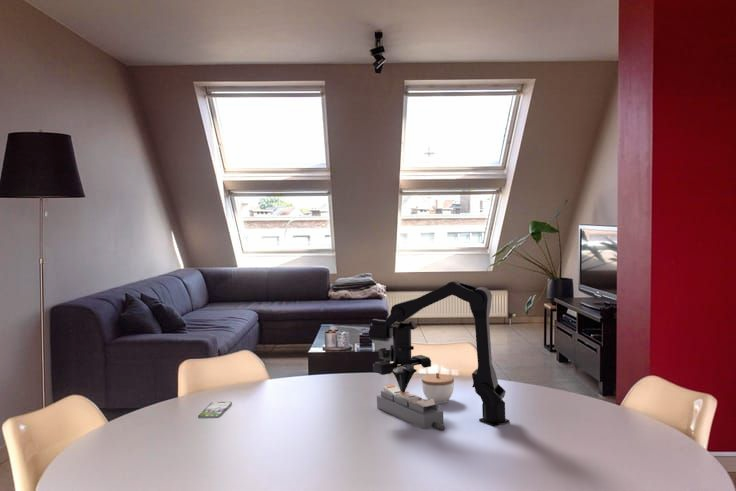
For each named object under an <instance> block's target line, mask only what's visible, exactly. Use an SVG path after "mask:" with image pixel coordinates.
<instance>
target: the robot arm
mask: <svg viewBox="0 0 736 491" xmlns="http://www.w3.org/2000/svg"><path fill="white" fill-rule="evenodd" d="M452 296H454V297H457V299H460V300H461V301H464V302H467V303H469V307H470V311H471V313H472V316H473V319H474V330H475V340H476V341H475V343H476V357H477V368H475V370H474V371H473V372H472V373H471V378H472V382H473V383H472V388H474V392H475V394H477V396H478V397H480V399H481V402H482V405H481V406H482V407H481V410H482V411H481V412H482V417H481V418H479V419H478V421H479V422H482V423H486V424H487V425H490V426H492V427H495V426H499V425H503V424H507V423H509V422H510V419H507V418H506V401H504V400H503V399H504V398H505V396H506V393H507V392H506V390H505V388H503V387H502V386H501V385H500V384H499V380H498V378H497V372H496V371H495V368H494V366H493V359H492V346H491V333H490V332H491V331H490V313H491V308H492V298H493V295H492V292H491V290H489V289H488V288H487V287H484V286H479V287H476V286H473V285H470V284H467V283H463V282H460V281H459V280H455V279H454V280H451V281H449V282H447V283H446V284H445V285H442V286H440V287H438V288H436V289H433V290H432V291H430V292H427V293H425V294H423V295H421V296H419V297H415V298H414V299H413V298H411V299H408V300H405V301H401V302H398V303H396V304H394V305H392V307H391V309H390V314H389V315H388V317H387V318H386V319H385V320H384V319H379V318H373V319H371V323H370V326H369V330H368V338H369V340H370V341H377V342H378V341H379V342H390V340H391V339H392V344H390V349H387V348H386V347H383V348H378V358H379V360H380V361H375V362H374V363H373V364H372V371H373V372H374V373H377V374H379V375H382V376H385V375H390V374H393V375H394V377H395V379H396V382H397V385H398V388H399V389H400V390H401V392H405V391H407V390H406V389H407V388H408V385H409V383H410V381H411V379H412V378H413V375H415V373H416V372H417V369H415V366H419V365H421V367H422V368H424V369H425V368H430V367H432V360H431V358H430V357H428V356H427V355H426V356H425V355H422V354H418V355H412V351H413V350H414V349H415V348H414V345H412V330H413V331H414V330H415V329H417V328H418V327H419V326H418V325H417V324H416V323H415V322H414V320H409V319H410V318H412V317H414V316H415V315H416V314H417V313H419V312H420V311H422V310H423V309H424V308H426V307H429V306H431V305H433V304H435V303H438V302H440V301H442V300H444V299H446V298H448V297H452ZM407 320H409V322H405V321H407ZM397 323H399V324H397ZM388 361H389V362H388ZM390 362H391V363H390Z"/></svg>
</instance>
